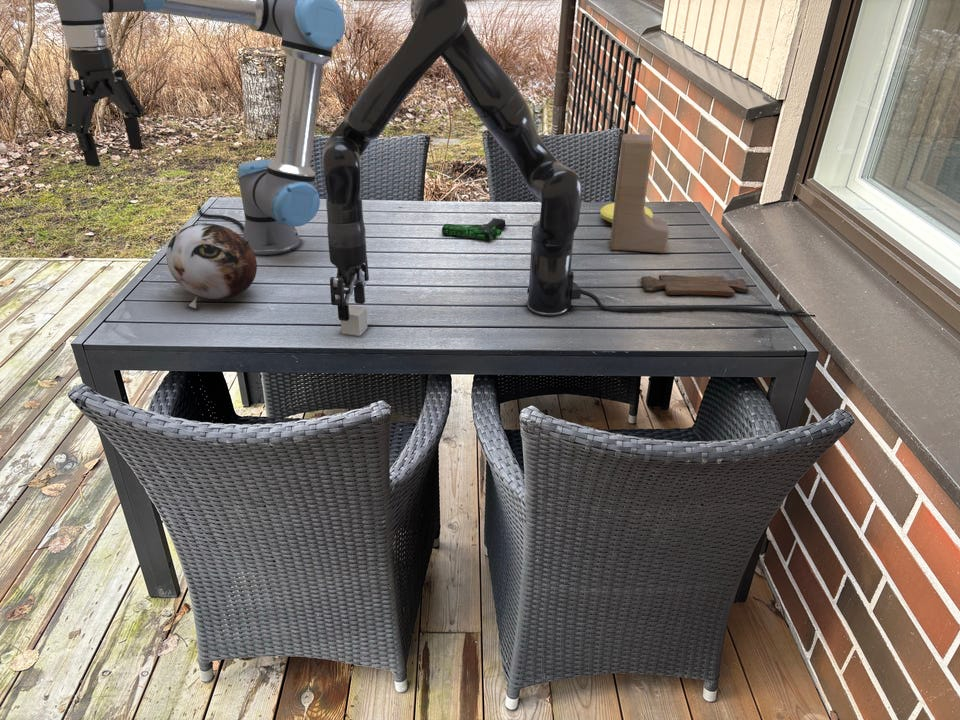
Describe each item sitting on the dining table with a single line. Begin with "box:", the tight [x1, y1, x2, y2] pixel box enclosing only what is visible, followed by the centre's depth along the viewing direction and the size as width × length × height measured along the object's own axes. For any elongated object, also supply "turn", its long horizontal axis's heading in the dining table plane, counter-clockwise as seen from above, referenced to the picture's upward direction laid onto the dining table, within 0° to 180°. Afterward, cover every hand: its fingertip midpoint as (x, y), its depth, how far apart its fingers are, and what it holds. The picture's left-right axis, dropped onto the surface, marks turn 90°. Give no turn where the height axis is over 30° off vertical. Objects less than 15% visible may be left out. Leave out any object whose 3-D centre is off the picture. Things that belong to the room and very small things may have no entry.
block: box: [340, 304, 368, 337], centre depth 154 cm, size 4×4×5 cm
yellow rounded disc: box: [599, 202, 654, 224], centre depth 215 cm, size 16×16×7 cm
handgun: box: [441, 217, 506, 242], centre depth 207 cm, size 16×3×15 cm
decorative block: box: [610, 133, 670, 254], centre depth 191 cm, size 8×15×30 cm, turn 82°
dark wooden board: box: [640, 274, 748, 297], centre depth 176 cm, size 26×2×10 cm
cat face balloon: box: [165, 222, 258, 309], centre depth 165 cm, size 22×18×20 cm
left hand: (116, 157), depth 150 cm, fingers open, 13 cm apart
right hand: (352, 311), depth 153 cm, fingers open, 8 cm apart
